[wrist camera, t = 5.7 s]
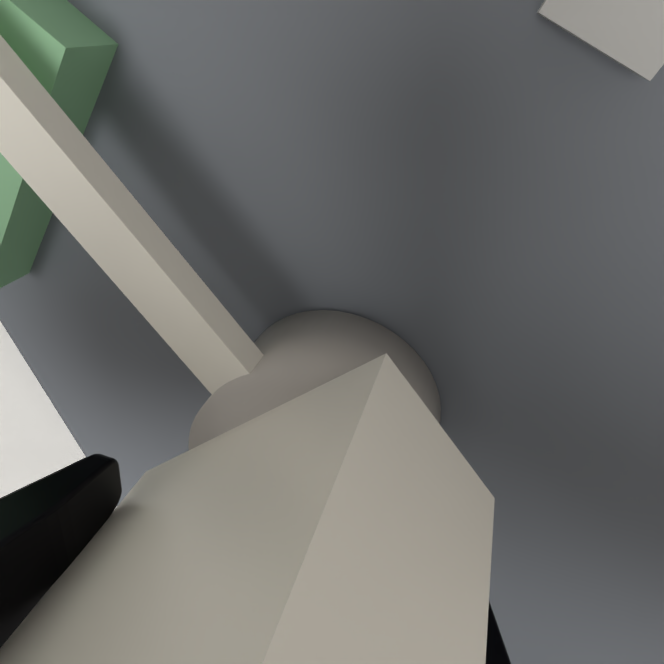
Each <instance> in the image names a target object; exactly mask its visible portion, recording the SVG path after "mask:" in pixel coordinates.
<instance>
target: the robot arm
mask: <svg viewBox="0 0 664 664" xmlns="http://www.w3.org/2000/svg"><path fill="white" fill-rule="evenodd" d="M121 493H122V485H121V478H120V470H119V463H118V461H117V460H116V459H114V458H111V457H108V456H105V455H102V454H93V455H90V456H88V457H86V458H84V459H82V460H79V461H77V462H75V463H73V464H71V465H69V466H67V467H65V468H63V469H61V470H58V471H56V472H54V473H52V474H50V475H48V476H46V477H44V478H42V479H39V480H37V481H35V482H33V483H31V484H29V485H27V486H25V487H23V488H21V489H18V490H16V491H14V492H12V493H10V494H8V495H6V496H4V497H2V498H0V648H1V647H2V646H3V644H4V643H5V642H6V641H7V640H8V638H9V637H10V636H11V635H12V634H13V632H14V631H15V630H16V629H17V627H18V626H19V625H20V624H21V623H22V621H23V620H24V619H25V618H26V617H27V615H28V614H29V613H30V612H31V610H32V609H33V608H34V607H35V606H36V604H37V603H38V602H39V601H40V600H41V598H42V597H43V596H44V595H45V593H46V592H47V591H48V590H49V589H50V587H51V586H52V585H53V584H54V583H55V582H56V581H57V579H58V578H59V577H60V576H61V575H62V574H63V573H64V571H65V570H66V569H67V568H68V567H69V566H70V565H71V563H72V562H73V561H74V560H75V559H76V557H77V556H78V555H79V554H80V553H81V551H82V550H83V549H84V548H85V546H86V545H87V544H88V543H89V542H90V540H91V539H92V538H93V537H94V535H95V534H96V533H97V532H98V531H99V529H100V528H101V527H102V526H103V524H104V523H105V522H106V521H107V520H108V518H109V517H110V516H111V514H112V513H113V511H114V509H115V508H116V506H117V504H118V502H119V500H120V497H121ZM485 664H511V662H510V659H509V656H508V653H507V650H506V647H505V644H504V642H503V639H502V636H501V633H500V630H499V627H498V624H497V621H496V619H495V616H494V613H493V610H492V607H491V604H490V601H489V609H488V627H487V645H486V663H485Z"/></svg>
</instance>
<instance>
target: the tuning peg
mask: <svg viewBox="0 0 664 664" xmlns="http://www.w3.org/2000/svg"><path fill="white" fill-rule="evenodd" d="M0 153H1V154H2V155H3V156H4V157H5V158H6V160H7V161H8V162H9V163H10V164H11V165H12V167H13V168H14V169H15V170H16V171H17V172H18V173H19V175H20V176H21V177H22V178H23V179H24V180H25V181H26V183H27V184H28V185H29V186H30V187H31V188H32V189H33V191H34V192H35V193H36V194H37V195H38V196H39V197H40V199H41V200H42V201H43V202H44V203H45V204H46V205H47V207H48V208H49V209H50V210H51V211H52V212H53V213H54V215H55V216H56V217H57V218H58V219H59V220H60V221H61V223H62V224H63V225H64V226H65V227H66V228H67V229H68V231H69V232H70V233H71V234H72V235H73V236H74V237H75V239H76V240H77V241H78V242H79V243H80V244H81V245H82V247H83V248H84V249H85V250H86V251H87V252H88V253H89V255H90V256H91V257H92V258H93V259H94V260H95V262H96V263H97V264H98V265H99V266H100V267H101V268H102V270H103V271H104V272H105V273H106V274H107V275H108V276H109V278H110V279H111V280H112V281H113V282H114V283H115V284H116V286H117V287H118V288H119V289H120V290H121V291H122V292H123V294H124V295H125V296H126V297H127V298H128V299H129V300H130V302H131V303H132V304H133V305H134V306H135V307H136V308H137V310H138V311H139V312H140V313H141V314H142V315H143V316H144V318H145V319H146V320H147V321H148V322H149V323H150V324H151V326H152V327H153V328H154V329H155V330H156V331H157V332H158V334H159V335H160V336H161V337H162V338H163V339H164V340H165V342H166V343H167V344H168V345H169V346H170V347H171V348H172V350H173V351H174V352H175V353H176V354H177V355H178V357H179V358H180V359H181V360H182V361H183V362H184V363H185V365H186V366H187V367H188V368H189V369H190V370H191V371H192V373H193V374H194V375H195V376H196V377H197V378H198V379H199V381H200V382H201V383H202V384H203V385H204V386H205V387H206V389H207V390H208V391H209V392H210V393H211V394H212V395H211V396H210V397H209V399H208V400H207V401H206V402H205V404H204V405H203V406H202V407H201V409H200V410H199V412H198V413H197V415H196V416H195V418H194V421H193V423H192V425H191V429H190V434H189V447H188V448H189V451H187V452H185V453H182V454H180V455H178V456H176V457H174V458H172V459H170V460H168V461H166V462H164V463H162V464H160V465H158V466H156V467H154V468H152V469H150V470H148V471H146V472H145V473H144V475H143V476H142V477H141V478H140V479H139V481H138V482H137V483H136V484H135V485H134V487H133V488H132V489H131V490H130V492H129V493H128V494H127V495H126V496H125V498H124V499H123V500H122V501H121V502H120V504H119V505H118V506H117V507H116V509H115V510H114V511H113V513H112V514H111V516H110V517H109V518H108V520H107V521H106V522H105V523H104V524H103V526H102V527H101V528H100V529H99V531H98V532H97V533H96V534H95V535H94V537H93V538H92V539H91V540H90V542H89V543H88V544H87V545H86V546H85V548H84V549H83V550H82V551H81V553H80V554H79V555H78V556H77V557H76V559H75V560H74V561H73V562H72V563H71V565H70V566H69V567H68V568H67V569H66V570H65V571H64V573H63V574H62V575H61V576H60V577H59V578H58V579H57V581H56V582H55V583H54V584H53V585H52V586H51V587H50V589H49V590H48V591H47V592H46V593H45V595H44V596H43V597H42V598H41V600H40V601H39V602H38V603H37V604H36V606H35V607H34V608H33V609H32V610H31V612H30V613H29V614H28V615H27V617H26V618H25V619H24V620H23V621H22V623H21V624H20V625H19V626H18V627H17V629H16V630H15V631H14V632H13V634H12V635H11V636H10V637H9V638H8V640H7V641H6V642H5V643H4V644H3V646H2V647H1V648H0V664H485V663H486V645H487V627H488V609H489V591H490V573H491V555H492V537H493V519H494V501H495V498H494V497H493V495H492V494H491V492H490V491H489V490H488V488H487V487H486V486H485V484H484V483H483V482H482V480H481V479H480V478H479V476H478V475H477V474H476V472H475V471H474V470H473V468H472V467H471V466H470V464H469V463H468V462H467V460H466V459H465V458H464V456H463V455H462V454H461V452H460V451H459V450H458V448H457V447H456V446H455V444H454V443H453V442H452V440H451V439H450V438H449V436H448V435H447V434H446V432H445V431H444V430H443V428H442V427H441V426H440V419H441V404H440V397H439V393H438V389H437V386H436V383H435V381H434V379H433V377H432V374H431V372H430V371H429V369H428V368H427V366H426V364H425V363H424V361H423V360H422V359H421V358H420V356H419V355H418V354H417V353H416V352H415V350H414V349H413V348H411V347H410V346H409V345H408V344H407V343H406V342H405V341H404V340H403V339H401V338H400V337H399V336H397V335H396V334H395V333H393V332H392V331H390V330H389V329H387V328H385V327H383V326H382V325H380V324H378V323H376V322H373V321H371V320H369V319H367V318H364V317H361V316H357V315H354V314H350V313H345V312H340V311H330V310H315V311H306V312H301V313H297V314H294V315H291V316H288V317H285V318H283V319H281V320H279V321H277V322H275V323H274V324H273V325H271V326H270V327H269V328H267V329H266V330H265V331H264V332H263V333H262V334H261V335H260V336H259V337H258V339H257V340H256V341H255V342H254V343H253V341H252V340H251V339H250V338H249V337H248V335H247V334H246V333H245V332H244V331H243V329H242V328H241V327H240V326H239V324H238V323H237V322H236V321H235V320H234V318H233V317H232V316H231V315H230V313H229V312H228V311H227V310H226V309H225V307H224V306H223V305H222V304H221V303H220V301H219V300H218V299H217V298H216V296H215V295H214V294H213V293H212V292H211V290H210V289H209V288H208V287H207V285H206V284H205V283H204V282H203V281H202V279H201V278H200V277H199V276H198V275H197V273H196V272H195V271H194V270H193V268H192V267H191V266H190V265H189V264H188V262H187V261H186V260H185V259H184V257H183V256H182V255H181V254H180V253H179V251H178V250H177V249H176V248H175V247H174V245H173V244H172V243H171V242H170V240H169V239H168V238H167V237H166V236H165V234H164V233H163V232H162V231H161V230H160V228H159V227H158V226H157V225H156V223H155V222H154V221H153V220H152V219H151V217H150V216H149V215H148V214H147V212H146V211H145V210H144V209H143V208H142V206H141V205H140V204H139V203H138V202H137V200H136V199H135V198H134V197H133V195H132V194H131V193H130V192H129V191H128V189H127V188H126V187H125V186H124V184H123V183H122V182H121V181H120V180H119V178H118V177H117V176H116V175H115V174H114V172H113V171H112V170H111V169H110V167H109V166H108V165H107V164H106V163H105V161H104V160H103V159H102V158H101V156H100V155H99V154H98V153H97V152H96V150H95V149H94V148H93V147H92V146H91V144H90V143H89V142H88V141H87V139H86V138H85V137H84V136H83V135H82V133H81V132H80V131H79V130H78V128H77V127H76V126H75V125H74V124H73V122H72V121H71V120H70V119H69V118H68V116H67V115H66V114H65V113H64V111H63V110H62V109H61V108H60V107H59V105H58V104H57V103H56V102H55V100H54V99H53V98H52V97H51V96H50V94H49V93H48V92H47V91H46V90H45V88H44V87H43V86H42V85H41V83H40V82H39V81H38V80H37V79H36V77H35V76H34V75H33V74H32V72H31V71H30V70H29V69H28V68H27V66H26V65H25V64H24V63H23V62H22V60H21V59H20V58H19V57H18V55H17V54H16V53H15V52H14V51H13V49H12V48H11V47H10V46H9V44H8V43H7V42H6V41H5V40H4V38H3V37H2V36H1V35H0Z"/></svg>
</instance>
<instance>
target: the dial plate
mask: <svg viewBox="0 0 664 664" xmlns="http://www.w3.org/2000/svg"><path fill="white" fill-rule="evenodd" d="M0 35H1V36H2V37H3V38H4V40H5V41H6V42H7V43H8V44H9V46H10V47H11V48H12V49H13V51H14V52H15V53H16V54H17V55H18V57H19V58H20V59H21V60H22V62H23V63H24V64H25V65H26V66H27V68H28V69H29V70H30V71H31V72H32V74H33V75H34V76H35V77H36V79H37V80H38V81H39V82H40V83H41V85H42V86H43V87H44V88H45V90H46V91H47V92H48V93H49V94H50V96H51V97H52V98H53V99H54V100H55V102H56V103H57V104H58V105H59V107H60V108H61V109H62V110H63V111H64V113H65V114H66V115H67V116H68V118H69V119H70V120H71V121H72V122H73V124H74V125H75V126H76V127H77V128H78V130H79V131H80V132H81V133H82V135H83V136H84V137H85V138H86V139H87V141H88V142H89V143H90V144H91V146H92V147H93V148H94V149H95V150H96V152H97V153H98V154H99V155H100V156H101V158H102V159H103V160H104V161H105V163H106V164H107V165H108V166H109V167H110V169H111V170H112V171H113V172H114V174H115V175H116V176H117V177H118V178H119V180H120V181H121V182H122V183H123V184H124V186H125V187H126V188H127V189H128V191H129V192H130V193H131V194H132V195H133V197H134V198H135V199H136V200H137V202H138V203H139V204H140V205H141V206H142V208H143V209H144V210H145V211H146V212H147V214H148V215H149V216H150V217H151V219H152V220H153V221H154V222H155V223H156V225H157V226H158V227H159V228H160V230H161V231H162V232H163V233H164V234H165V236H166V237H167V238H168V239H169V240H170V242H171V243H172V244H173V245H174V247H175V248H176V249H177V250H178V251H179V253H180V254H181V255H182V256H183V257H184V259H185V260H186V261H187V262H188V264H189V265H190V266H191V267H192V268H193V270H194V271H195V272H196V273H197V275H198V276H199V277H200V278H201V279H202V281H203V282H204V283H205V284H206V285H207V287H208V288H209V289H210V290H211V292H212V293H213V294H214V295H215V296H216V298H217V299H218V300H219V301H220V303H221V304H222V305H223V306H224V307H225V309H226V310H227V311H228V312H229V313H230V315H231V316H232V317H233V318H234V320H235V321H236V322H237V323H238V324H239V326H240V327H241V328H242V329H243V331H244V332H245V333H246V334H247V335H248V337H249V338H250V339H251V340H252V341H253V343H254V342H255V341H256V340H257V339H258V337H259V336H260V335H261V334H262V333H263V332H264V331H265V330H266V329H267V328H269V327H270V326H271V325H273V324H274V323H275V322H277V321H279V320H281V319H283V318H285V317H288V316H291V315H294V314H297V313H301V312H306V311H315V310H330V311H340V312H345V313H350V314H354V315H357V316H361V317H364V318H367V319H369V320H371V321H373V322H376V323H378V324H380V325H382V326H383V327H385V328H387V329H389V330H390V331H392V332H393V333H395V334H396V335H397V336H399V337H400V338H401V339H403V340H404V341H405V342H406V343H407V344H408V345H409V346H410V347H411V348H413V349H414V350H415V352H416V353H417V354H418V355H419V356H420V358H421V359H422V360H423V361H424V363H425V364H426V366H427V368H428V369H429V371H430V372H431V374H432V377H433V379H434V381H435V383H436V386H437V389H438V393H439V397H440V404H441V419H440V426H441V427H442V428H443V430H444V431H445V432H446V434H447V435H448V436H449V438H450V439H451V440H452V442H453V443H454V444H455V446H456V447H457V448H458V450H459V451H460V452H461V454H462V455H463V456H464V458H465V459H466V460H467V462H468V463H469V464H470V466H471V467H472V468H473V470H474V471H475V472H476V474H477V475H478V476H479V478H480V479H481V480H482V482H483V483H484V484H485V486H486V487H487V488H488V490H489V491H490V492H491V494H492V495H493V497H494V498H495V501H494V519H493V537H492V555H491V573H490V591H489V601H490V604H491V607H492V610H493V613H494V616H495V619H496V621H497V624H498V627H499V630H500V633H501V636H502V639H503V642H504V644H505V647H506V650H507V653H508V656H509V659H510V662H511V664H664V0H0ZM0 321H1V322H2V324H3V326H4V327H5V329H6V330H7V332H8V334H9V335H10V337H11V338H12V340H13V342H14V343H15V345H16V346H17V348H18V349H19V351H20V353H21V354H22V356H23V357H24V359H25V361H26V362H27V364H28V365H29V367H30V369H31V370H32V372H33V373H34V375H35V376H36V378H37V380H38V381H39V383H40V384H41V386H42V388H43V389H44V391H45V392H46V394H47V396H48V397H49V399H50V400H51V402H52V403H53V405H54V407H55V408H56V410H57V411H58V413H59V415H60V416H61V418H62V419H63V421H64V423H65V424H66V426H67V427H68V429H69V430H70V432H71V434H72V435H73V437H74V438H75V440H76V442H77V443H78V445H79V446H80V448H81V450H82V451H83V453H84V454H85V456H86V457H88V456H90V455H93V454H102V455H105V456H108V457H111V458H114V459H116V460H117V461H118V463H119V470H120V478H121V485H122V493H121V497H120V500H119V502H118V504H117V506H118V505H119V504H120V502H121V501H122V500H123V499H124V498H125V496H126V495H127V494H128V493H129V492H130V490H131V489H132V488H133V487H134V485H135V484H136V483H137V482H138V481H139V479H140V478H141V477H142V476H143V475H144V473H145V472H146V471H148V470H150V469H152V468H154V467H156V466H158V465H160V464H162V463H164V462H166V461H168V460H170V459H172V458H174V457H176V456H178V455H180V454H182V453H185V452H187V451H189V448H188V447H189V434H190V429H191V425H192V423H193V421H194V418H195V416H196V415H197V413H198V412H199V410H200V409H201V407H202V406H203V405H204V404H205V402H206V401H207V400H208V399H209V397H210V396H211V395H212V394H211V393H210V392H209V391H208V390H207V389H206V387H205V386H204V385H203V384H202V383H201V382H200V381H199V379H198V378H197V377H196V376H195V375H194V374H193V373H192V371H191V370H190V369H189V368H188V367H187V366H186V365H185V363H184V362H183V361H182V360H181V359H180V358H179V357H178V355H177V354H176V353H175V352H174V351H173V350H172V348H171V347H170V346H169V345H168V344H167V343H166V342H165V340H164V339H163V338H162V337H161V336H160V335H159V334H158V332H157V331H156V330H155V329H154V328H153V327H152V326H151V324H150V323H149V322H148V321H147V320H146V319H145V318H144V316H143V315H142V314H141V313H140V312H139V311H138V310H137V308H136V307H135V306H134V305H133V304H132V303H131V302H130V300H129V299H128V298H127V297H126V296H125V295H124V294H123V292H122V291H121V290H120V289H119V288H118V287H117V286H116V284H115V283H114V282H113V281H112V280H111V279H110V278H109V276H108V275H107V274H106V273H105V272H104V271H103V270H102V268H101V267H100V266H99V265H98V264H97V263H96V262H95V260H94V259H93V258H92V257H91V256H90V255H89V253H88V252H87V251H86V250H85V249H84V248H83V247H82V245H81V244H80V243H79V242H78V241H77V240H76V239H75V237H74V236H73V235H72V234H71V233H70V232H69V231H68V229H67V228H66V227H65V226H64V225H63V224H62V223H61V221H60V220H59V219H58V218H57V217H56V216H55V215H54V213H53V212H52V211H51V210H50V209H49V208H48V207H47V205H46V204H45V203H44V202H43V201H42V200H41V199H40V197H39V196H38V195H37V194H36V193H35V192H34V191H33V189H32V188H31V187H30V186H29V185H28V184H27V183H26V181H25V180H24V179H23V178H22V177H21V176H20V175H19V173H18V172H17V171H16V170H15V169H14V168H13V167H12V165H11V164H10V163H9V162H8V161H7V160H6V158H5V157H4V156H3V155H2V154H1V153H0Z"/></svg>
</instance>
